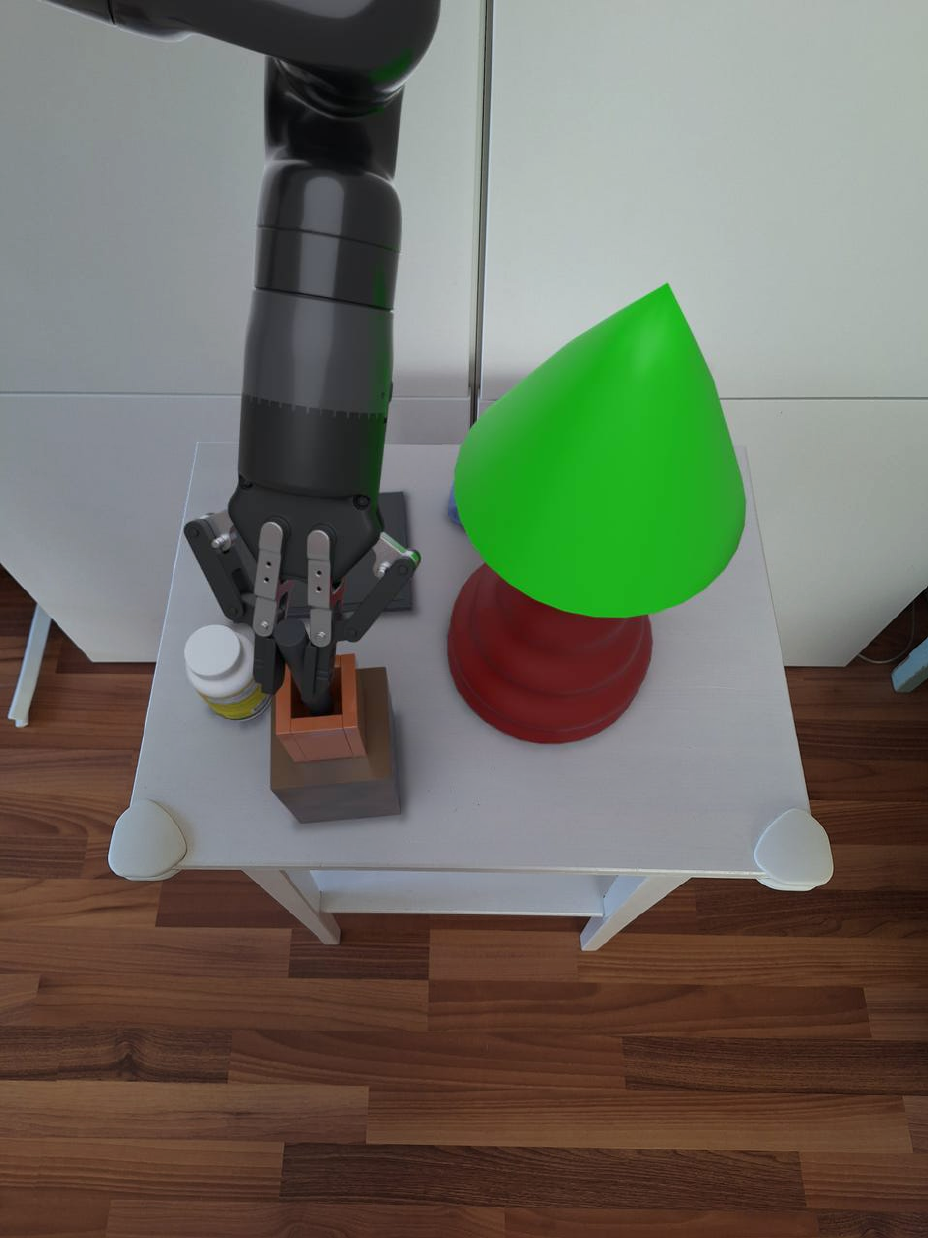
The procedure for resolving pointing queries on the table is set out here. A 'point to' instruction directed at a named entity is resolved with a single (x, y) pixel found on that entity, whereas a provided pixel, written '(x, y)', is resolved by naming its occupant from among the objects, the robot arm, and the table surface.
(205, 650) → the pill bottle
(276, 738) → the stand
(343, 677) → the pen cup
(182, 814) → the table surface
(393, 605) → the tablet
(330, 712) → the stylus
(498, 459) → the table lamp
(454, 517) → the decorative dice
